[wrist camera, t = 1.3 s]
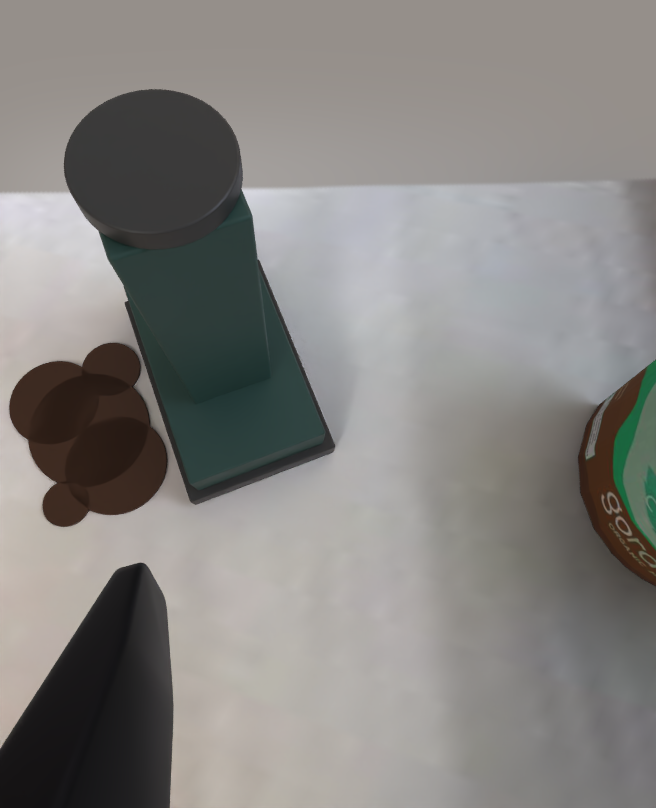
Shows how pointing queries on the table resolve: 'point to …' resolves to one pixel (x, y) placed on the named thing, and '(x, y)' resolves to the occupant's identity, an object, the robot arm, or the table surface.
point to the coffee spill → (90, 434)
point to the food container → (624, 473)
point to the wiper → (195, 288)
